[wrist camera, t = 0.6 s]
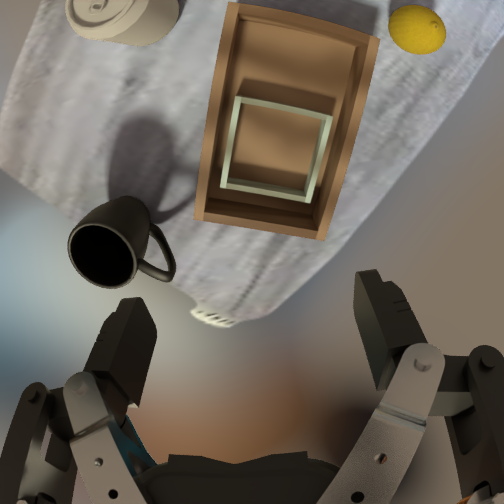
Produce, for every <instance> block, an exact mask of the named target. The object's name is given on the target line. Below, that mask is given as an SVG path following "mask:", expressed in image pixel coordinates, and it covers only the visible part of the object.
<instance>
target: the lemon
mask: <svg viewBox="0 0 504 504" xmlns="http://www.w3.org/2000/svg"><path fill="white" fill-rule="evenodd" d="M388 28H389V33H390V36H391V37H392V39H393V41H394V42H395V43H396V44H397V45H398V46H399V47H400V48H402V49H403V50H405V51H407V52H409V53H413V54H419V55H420V54H429V53H432V52H435V51H437V50H438V49H439V48H440V47H441V46H442V45H443V43H444V42H445V38H446V29H445V26H444V23H443V21H442V20H441V18H440V17H439V16H438V15H437V14H436V13H435V12H434V11H432V10H431V9H429V8H426V7H424V6H419V5H407V6H403V7H401V8H398V9H397V10H396V11H395V12H394V13H393V14H392V15H391V17H390V19H389V24H388Z"/></svg>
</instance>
